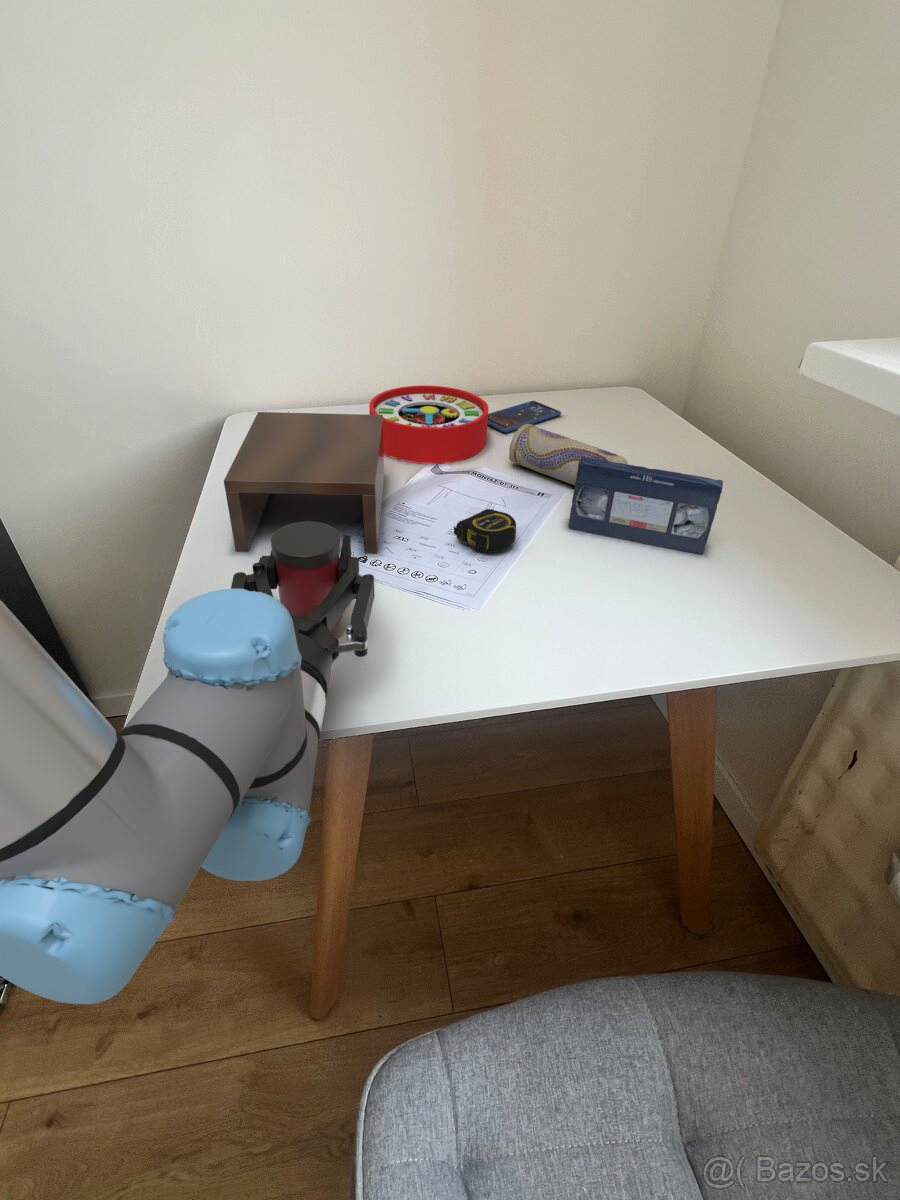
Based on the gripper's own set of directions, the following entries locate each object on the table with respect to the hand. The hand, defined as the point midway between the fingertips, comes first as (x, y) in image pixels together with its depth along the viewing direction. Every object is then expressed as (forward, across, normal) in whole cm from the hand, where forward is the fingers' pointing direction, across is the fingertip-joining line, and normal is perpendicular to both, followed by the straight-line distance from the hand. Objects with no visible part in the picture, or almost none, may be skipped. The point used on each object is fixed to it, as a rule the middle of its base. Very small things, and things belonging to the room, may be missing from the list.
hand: (314, 545), depth 76 cm
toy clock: (+48, -13, +8) cm, 50 cm away
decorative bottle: (+31, -36, +8) cm, 48 cm away
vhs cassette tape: (+16, -41, +8) cm, 45 cm away
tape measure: (+14, -20, +8) cm, 26 cm away
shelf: (+22, +3, +8) cm, 24 cm away
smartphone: (+58, -30, +8) cm, 66 cm away
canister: (-5, 0, +6) cm, 8 cm away
